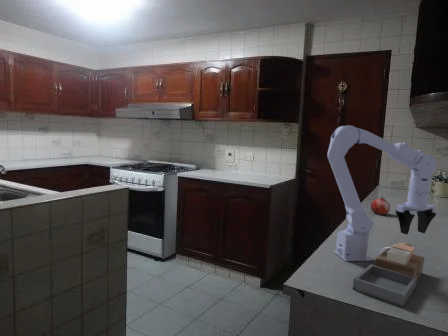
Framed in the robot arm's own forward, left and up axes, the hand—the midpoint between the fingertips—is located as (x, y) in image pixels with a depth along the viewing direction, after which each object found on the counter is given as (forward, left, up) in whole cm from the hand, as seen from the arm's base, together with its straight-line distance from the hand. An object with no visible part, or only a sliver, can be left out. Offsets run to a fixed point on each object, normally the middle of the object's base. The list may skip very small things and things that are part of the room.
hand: (412, 232), depth 107 cm
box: (-21, -16, -10) cm, 28 cm away
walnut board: (-10, -8, -10) cm, 16 cm away
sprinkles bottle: (+5, +7, -8) cm, 12 cm away
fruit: (+34, +64, -11) cm, 73 cm away
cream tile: (-12, -9, -5) cm, 16 cm away
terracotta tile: (-7, -5, -5) cm, 10 cm away
